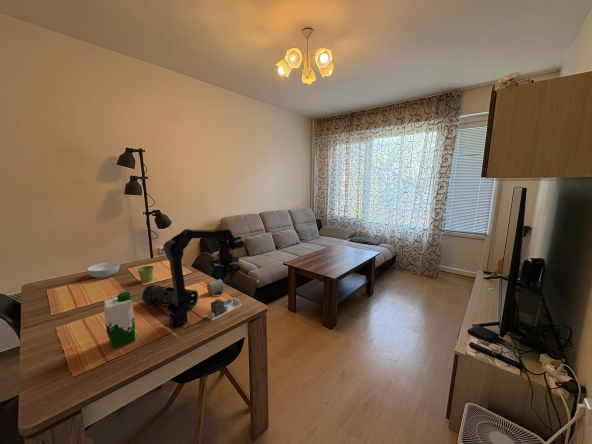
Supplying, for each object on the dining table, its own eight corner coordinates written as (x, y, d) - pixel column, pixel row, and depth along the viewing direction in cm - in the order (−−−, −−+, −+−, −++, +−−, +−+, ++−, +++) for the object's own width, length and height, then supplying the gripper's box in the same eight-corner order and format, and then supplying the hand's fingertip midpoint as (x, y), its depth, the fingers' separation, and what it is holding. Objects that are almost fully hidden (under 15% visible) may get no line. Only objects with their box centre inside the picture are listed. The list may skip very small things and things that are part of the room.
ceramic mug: (206, 292, 138) (206, 280, 136) (220, 288, 142) (220, 277, 141) (211, 300, 129) (211, 287, 128) (226, 296, 134) (225, 283, 132)
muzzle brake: (187, 314, 115) (186, 295, 113) (140, 307, 121) (138, 288, 119) (199, 304, 124) (198, 286, 122) (154, 298, 130) (152, 281, 128)
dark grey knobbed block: (216, 316, 112) (215, 303, 111) (211, 314, 114) (210, 300, 113) (224, 312, 115) (223, 299, 114) (219, 310, 118) (218, 296, 116)
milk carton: (138, 341, 96) (132, 296, 92) (110, 352, 89) (103, 304, 86) (133, 331, 102) (128, 288, 98) (107, 340, 95) (101, 295, 92)
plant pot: (139, 278, 154) (138, 266, 153) (156, 276, 158) (154, 264, 156) (136, 284, 146) (135, 271, 144) (154, 282, 150) (153, 269, 148)
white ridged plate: (212, 321, 109) (212, 315, 109) (204, 316, 113) (204, 310, 112) (242, 305, 124) (241, 300, 123) (233, 301, 127) (233, 296, 127)
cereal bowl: (124, 274, 160) (123, 265, 159) (94, 283, 147) (92, 272, 145) (114, 269, 169) (112, 260, 168) (84, 277, 155) (83, 267, 154)
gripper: (248, 252, 122) (248, 280, 124) (225, 245, 132) (226, 271, 135) (231, 257, 113) (232, 287, 115) (208, 250, 123) (209, 277, 126)
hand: (225, 280), depth 123 cm, fingers open, 9 cm apart
